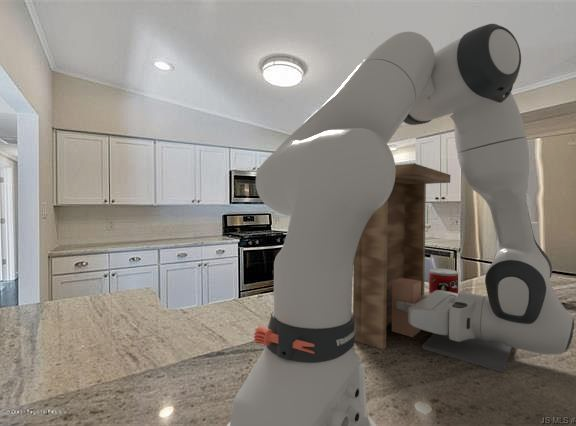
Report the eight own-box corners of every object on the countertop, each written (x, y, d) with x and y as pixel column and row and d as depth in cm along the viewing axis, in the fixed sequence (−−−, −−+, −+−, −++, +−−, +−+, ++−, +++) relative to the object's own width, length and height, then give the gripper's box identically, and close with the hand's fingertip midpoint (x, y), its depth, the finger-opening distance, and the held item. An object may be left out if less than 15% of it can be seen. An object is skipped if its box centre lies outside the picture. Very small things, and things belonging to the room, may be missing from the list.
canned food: (428, 309, 89) (428, 272, 89) (429, 302, 96) (430, 267, 96) (458, 314, 85) (458, 274, 85) (457, 306, 92) (458, 269, 92)
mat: (512, 346, 65) (512, 342, 65) (503, 372, 55) (504, 368, 55) (441, 329, 75) (441, 325, 75) (422, 348, 64) (422, 345, 64)
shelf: (448, 322, 79) (450, 174, 78) (412, 359, 60) (414, 163, 59) (398, 310, 88) (400, 177, 87) (352, 339, 68) (354, 168, 68)
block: (420, 330, 74) (421, 280, 73) (413, 337, 70) (413, 284, 70) (399, 325, 77) (400, 277, 77) (391, 331, 73) (392, 281, 73)
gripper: (478, 289, 72) (417, 280, 81) (456, 311, 57) (385, 296, 66) (477, 316, 72) (417, 304, 82) (456, 345, 57) (384, 325, 66)
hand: (402, 300), depth 74 cm, fingers closed on block, 5 cm apart
